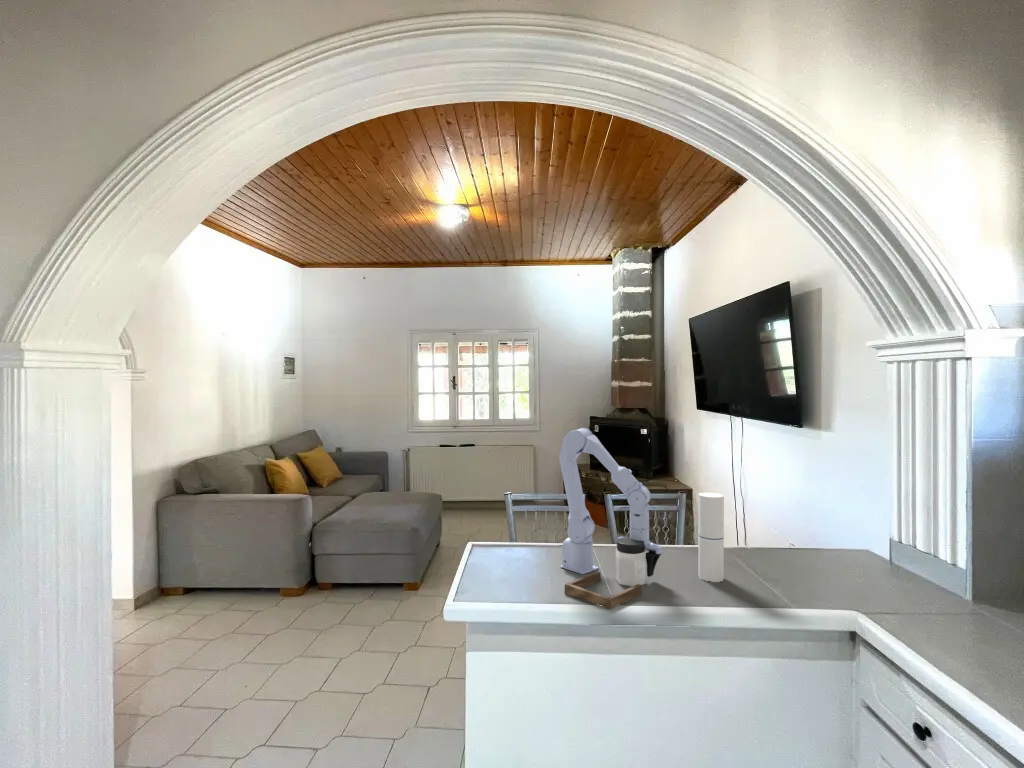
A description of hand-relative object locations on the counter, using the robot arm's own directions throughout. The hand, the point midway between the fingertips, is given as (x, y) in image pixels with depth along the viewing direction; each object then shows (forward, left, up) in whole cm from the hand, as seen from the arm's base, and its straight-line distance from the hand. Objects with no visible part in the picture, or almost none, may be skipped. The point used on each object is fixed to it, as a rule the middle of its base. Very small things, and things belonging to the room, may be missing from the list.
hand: (639, 572), depth 166 cm
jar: (0, -5, -2) cm, 5 cm away
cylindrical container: (+15, +15, -2) cm, 22 cm away
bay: (0, -18, -2) cm, 18 cm away
